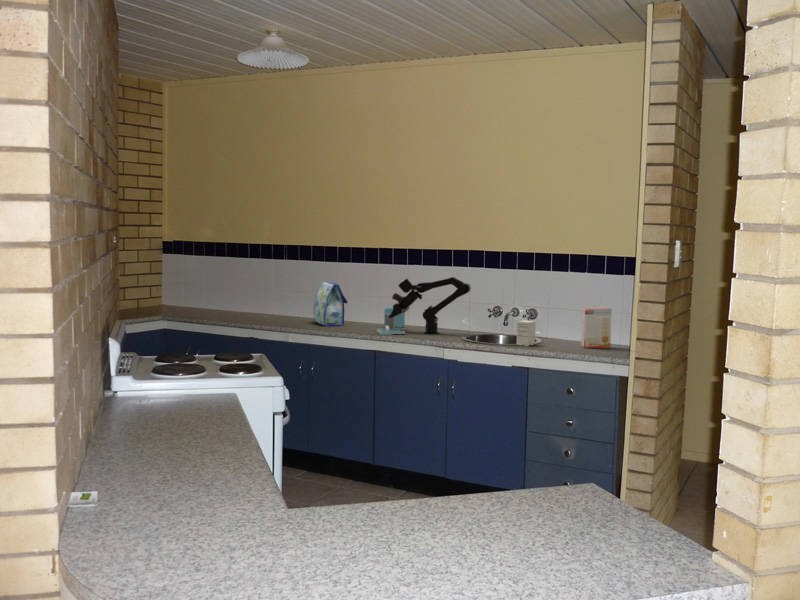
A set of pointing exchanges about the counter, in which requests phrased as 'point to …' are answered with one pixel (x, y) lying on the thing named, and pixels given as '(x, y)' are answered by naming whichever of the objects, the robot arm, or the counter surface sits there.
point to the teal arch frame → (399, 318)
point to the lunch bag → (329, 305)
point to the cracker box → (596, 327)
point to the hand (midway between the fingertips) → (391, 316)
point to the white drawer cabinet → (525, 332)
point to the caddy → (389, 331)
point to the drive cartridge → (390, 321)
